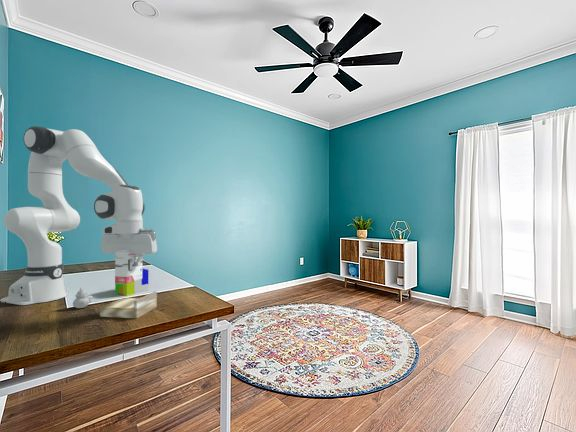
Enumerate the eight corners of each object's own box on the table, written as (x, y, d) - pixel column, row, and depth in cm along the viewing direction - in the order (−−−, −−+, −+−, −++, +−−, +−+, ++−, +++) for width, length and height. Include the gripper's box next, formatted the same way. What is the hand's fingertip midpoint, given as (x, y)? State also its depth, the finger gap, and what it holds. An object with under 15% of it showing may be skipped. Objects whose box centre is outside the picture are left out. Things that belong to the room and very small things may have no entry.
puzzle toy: (148, 290, 133) (148, 269, 133) (126, 295, 124) (126, 273, 124) (136, 287, 138) (136, 267, 138) (115, 292, 130) (115, 270, 130)
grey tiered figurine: (69, 308, 107) (69, 287, 107) (88, 303, 113) (88, 284, 113) (77, 311, 105) (77, 289, 105) (96, 306, 111) (96, 285, 110)
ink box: (126, 284, 100) (126, 250, 99) (114, 283, 101) (113, 250, 100) (143, 278, 108) (143, 247, 108) (132, 278, 109) (131, 247, 109)
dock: (99, 316, 99) (99, 299, 99) (123, 305, 111) (123, 290, 111) (136, 318, 98) (136, 301, 98) (156, 306, 110) (156, 291, 110)
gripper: (160, 228, 106) (160, 265, 106) (110, 227, 108) (110, 263, 109) (150, 229, 100) (150, 268, 100) (97, 228, 102) (98, 266, 102)
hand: (129, 265), depth 104 cm, fingers closed on ink box, 5 cm apart
